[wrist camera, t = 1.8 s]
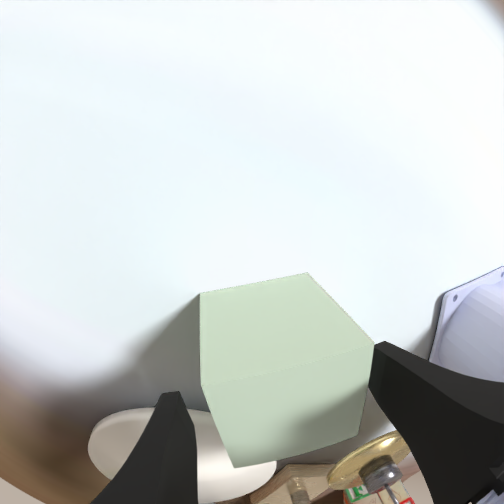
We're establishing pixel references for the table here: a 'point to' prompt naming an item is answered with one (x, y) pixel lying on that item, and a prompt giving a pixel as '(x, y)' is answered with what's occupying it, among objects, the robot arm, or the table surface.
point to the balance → (338, 474)
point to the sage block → (281, 368)
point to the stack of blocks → (376, 495)
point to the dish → (208, 454)
